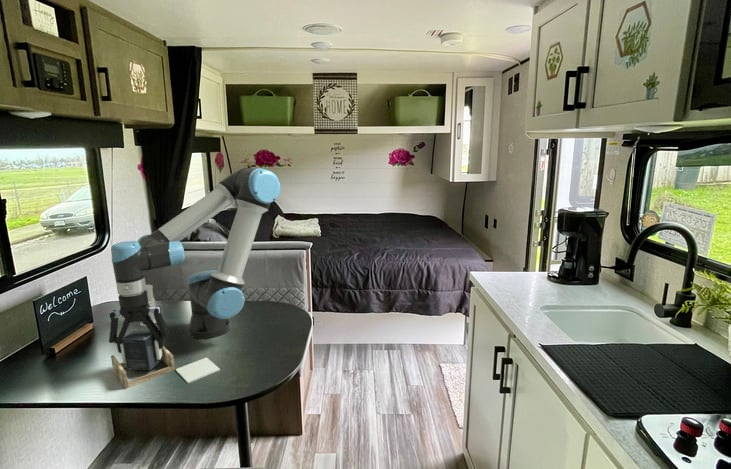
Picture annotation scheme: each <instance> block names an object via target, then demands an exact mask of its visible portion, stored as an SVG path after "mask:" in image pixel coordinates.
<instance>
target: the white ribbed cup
mask: <svg viewBox="0 0 731 469" xmlns="http://www.w3.org/2000/svg"><path fill="white" fill-rule="evenodd" d="M153 287H154V286H153V285H152V284H146V291H147V297H148V304H149V306H150V307H157V306H156V300H155V297H154V291H153ZM148 315H149V316H150V317H151V320H152V321H153V322H154V324H155V325H156V324H157V322H156V320H155V318H154V315H153V314H152V312H149V313H148ZM139 326H141V327H147V326H146V325H145V324H143V323H142V322H139Z"/></svg>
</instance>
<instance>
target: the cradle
mask: <svg viewBox="0 0 731 469" xmlns="http://www.w3.org/2000/svg"><path fill="white" fill-rule="evenodd" d="M161 350H162V357H161V359H160V360H161V361H163V362H164V363H165V365H166V367H164V368H161V369H159V370H155V371H153V372H150V373H148V374H144V375H142V376H138V377H136V378H134V379H130V380H129V381H128V375H127V371H126V370H125V369H124V368H127V364H126V363H125V364H123V362H119V360H118V359H117V357H116V356H115V355H114V354H113V355H110V358H111V365H112V370H114V371H113V373H114V374H115V373H116V374H115V375H116V377H117V378H118V380H119V381H120V383H121V384H122V386H123V387H124V389H126V390H127V389H129V388H132V387H135V386H136V385H139V384H142V383H144V382H147V381H149V380H151V379H155V378H158V377H160V376H162V375H166V374H168V373H171V372H173V371H176V367H175V365H176V364H175V359H174V355H173V353H172V352H170V351H169V350H168V349H167V348H166V347H165V346H164V347H163V348H162V349H161Z"/></svg>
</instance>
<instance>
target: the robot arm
mask: <svg viewBox="0 0 731 469" xmlns="http://www.w3.org/2000/svg"><path fill="white" fill-rule="evenodd" d="M280 194H281V183H280V181H279V178H278V176H277V175H276V174H275V173H274V172H273V171H271V170H268V169H265V168H253V167H252V168H251V167H243V168H239V169H238V170H236V171H233V173H231V174H229V175H227V177H225V178H224V179H222V180H221V181H219V182H218V183H217V184H216V188H214V189H213V190H212V191H210V192H208V193H207V194H206V195H205V196H203V197H202V198H200V199H199V200H197V201H196V202H195V203H193V204H191V205H190V206H189V207H188V208H186V209H185V210H183V211H182V212H181V213H179V214H178V215H176V216H175V217H173V218H172V219H170V220H169V221H168V222H166V223H165V224H163V225H162V226H161V227H159V228H158V229H156V230H155V231H153V232H152V233H150V234H145V235H142V236H141V237H139V238H138V239H137V241H136V240H129V241H128V240H127V241H120V242H116V243H114V244H112V246H111V247H110V251H111V252H110V253H111V263H112V268H113V273H114V277H115V278H114V279H115V285H116V291H117V294H118V302H119V308H120V309H118V310H116V309H114V310H112V311H111V312H110V313H109V318H110V330H109V338H108V339H109V340H108V342H109V343H110V344H113V343H114V344H115V345H116V347H117V353H119V354H121V358H122V363H123V364H125V363H126V358H125V353H124V347H123V341H122V338H124V337H125V336H126V334H127V331H128V329H129V326H130V325H131V324H132V323H137V322H138V323H141V322H142V323H143V324H145V325H146V326H145V327H146V328H147V329H148V331H151V333H152V334H153V335H154V336H155V338H156V339H155V341H154V342H155V349H156V355H157V360H162V359H161V357H162V350H161V349H162V348H163V347H165V341H164V339H165V338H167V337H168V335H169V333H170V332H169V329H168V327H167V324H166V322H165V320H164V318H163V315H162V312H161V310H162V307H161V306H159V305H158V306H156V307H150V306H149V304H148V297H147V291H146V285H147V284H146V278H145V272H146V271H152V270H156V269H161V268H166V267H174V266H176V265H180V264H182V263H184V261H185V257H186V256H185V249H184V246H183V244H182V243H181V241H183V239H185V238H186V237H188V236H189V235H190V234H192V233H194V231H196V230H197V229H199V228H200V227H201V226H202V225H204V224H205V223H206V222H208V221H209V220H211V219H212V218H214V217H215V216H216V215H218V214H219V213H220V212H222V211H223V210H224V209H226V208H227V207H229V206H231V205H232V206H234V205H236V204H237V206H238V207H237V210H236V213H235V216H234V219H233V222H232V225H231V229H230V231H229V234H228V238H227V239H226V240H227V241H226V243H225V246H224V250H223V253H222V256H221V259H220V262H219V265H218V268H217V269H215V270H214V269H213V270H211V269H210V270H204V271H198V272H195V273H192V274H191V275H189V276H188V278H187V281H188V282H187V286H188V292H189V300H190V310H191V315H190V319H189V324H188V334H189V336H190V337H191V338H194V339H202V340H203V339H212V338H215V337H219V336H222V335H224V334H225V333H228V332H229V330H231V327H232V324H231V322H232V321H231V318H233V317H234V316H236V315H238V313H240V312H241V310H242V309H243V307H244V305H245V295H244V293H243V289H244V287H245V280H244V279H243V274H244V271H245V268H246V265H247V262H248V259H249V256H250V253H251V250H252V248H253V244H254V240H255V238H256V234H257V232H258V229H259V225H260V222H261V220H262V215H263V214H264V213H266V212H268V211H269V208H270V206H271V203H273V202H274V201H276V200H277V199H278V198H279V196H280ZM149 312H152V314H153V315H154V318H155V320H156V323H155V324H154V322H153V321H152V320H151V317H150V316H149V315H148V313H149ZM120 316H122V317H123V318H124V320H123V323H122V326H121V328H120V331H119V334H118V329H119V327H118V326H119V319H120V318H119V317H120Z"/></svg>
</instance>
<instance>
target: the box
mask: <svg viewBox="0 0 731 469" xmlns="http://www.w3.org/2000/svg"><path fill="white" fill-rule="evenodd" d="M155 339H156V338H155V336H154V335H153V334H152V333H151V331H150V330H147V331H146V330H133V331H132V332H130V333H128V334H127V335H125V336H124V338H122V341H123V347H124V353H125V358H126V364H127V367H126V369H127V370H138V371H139V370H141V371H150V370H152V369H153V368H154V367H155V366H156V365H158V364H159V363H160V362H161V361H162V359H160V360H157V355H156V349H155V342H154V341H155Z"/></svg>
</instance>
